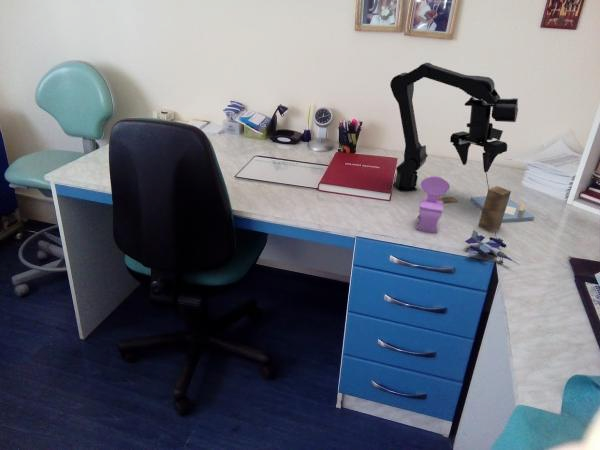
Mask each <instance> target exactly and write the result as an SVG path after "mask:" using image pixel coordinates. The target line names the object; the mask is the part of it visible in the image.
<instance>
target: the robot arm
mask: <svg viewBox="0 0 600 450" xmlns="http://www.w3.org/2000/svg"><path fill="white" fill-rule="evenodd" d="M423 78H425V79H429V80H432V81H435V82H439V83H441V84H445V85H447V86H451V87H454V88H456V89H460V90H461V91H463V93H465V94H467V95H468V96H470V98H469V99H468V100H467V101H466V102H464V106H467V107H470V118H469V122H468V123H466V127H467V128H468V132H467V131H459V132H453V133H452V134H451V136H450V140H449V141H450V142H449V143H452V146H454V148H455V150H456V152H457V154H458V156H459V159H460V161H461V164H462V166H465V165H467V162H468V158H469V157H468V155H469V149H470V147H471V146H472V145H474V146H478V147H482V148H483V151H484V152H482V161H483V163H482V165H483V172H484V173H487V172H489V170H490V167H491V166H492V164H493V163H494V161H495V159H496V158H497V157H498V156H499V155H501V154H503V153H505V152H507V151H508V143H507V142H505V141H502V140H501V137H502V135H503V132H504V130H501V129H498V128H494V124H493V122H491V121H490V120H491V118H492V119H493V120H494V121H495V122H506V123H516V121H517V117H518V114H519V113H518V112H519V107H518V105H519V103H518V102H519V98H501V96H500V94H499V93H498V91H497V90H496V87H495V85H496V84H495V81H494V80H493V79H492V78H491V77H489V76H482V75H481V76H480V75H467V74H464V73H460V72H457V71H453V70H450V69H447V68H445V67H440V66H438V65H434V64H432V63H430V62H424V63H422V64H420V65H419V66H418V67H415V68H414V69H412V70H411V71H409V72H401V73H400V74H397V75H395V76H394V77H392V79H391V80H390V84H389V85H390V90H391V92H392V95H393V98H394V99H395V101H396V102H397V104H398V109H399V116H400V119H401V126H402V133H403V138H404V143H405V144H404V153H403V160H402V162H401V163H400V164H399V165H398V166H396V178H395V182H394V184H393V185H394V186H395V188H396V189H397V190H398V191H400V192H407V191H417V182H418V178H419V177H418V170H419V169H421V167H422V166H423V165H425V163H426V161H427V158H428V156H429V155H428V154H427V145H426V144H425V145H422V144H421V143H420V141H419V135H418V128H417V121H416V117H415V110H414V103H413V98H414V97H413V96H414V90H415V89H414V87H415V84H414V83H416V82H418V81H420V80H421V79H423ZM493 139H495V140H493Z"/></svg>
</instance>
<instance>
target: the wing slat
mask: <svg viewBox="0 0 600 450" xmlns="http://www.w3.org/2000/svg"><path fill="white" fill-rule="evenodd" d="M437 201H443V204H450V203H458V202H459V200H458V199H457V198H456V197H455V196H450V197H449V196H448V197H446V196H445V197H438V198H437Z"/></svg>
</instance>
